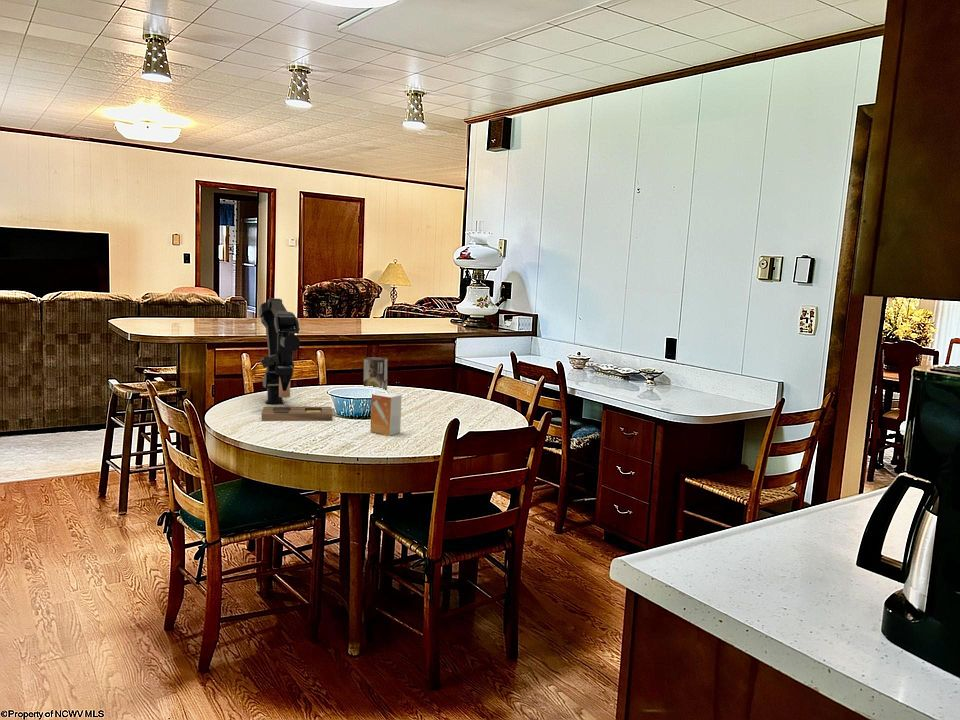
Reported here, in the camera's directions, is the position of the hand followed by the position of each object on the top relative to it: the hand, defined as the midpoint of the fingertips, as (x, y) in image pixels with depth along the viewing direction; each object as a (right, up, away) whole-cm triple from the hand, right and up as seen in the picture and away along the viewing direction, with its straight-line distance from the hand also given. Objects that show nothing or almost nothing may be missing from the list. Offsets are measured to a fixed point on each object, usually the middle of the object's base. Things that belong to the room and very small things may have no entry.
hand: (284, 389), depth 273 cm
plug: (0, -2, 0) cm, 2 cm away
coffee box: (+28, -4, +38) cm, 48 cm away
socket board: (+7, -9, -8) cm, 14 cm away
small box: (+40, -14, -25) cm, 49 cm away
